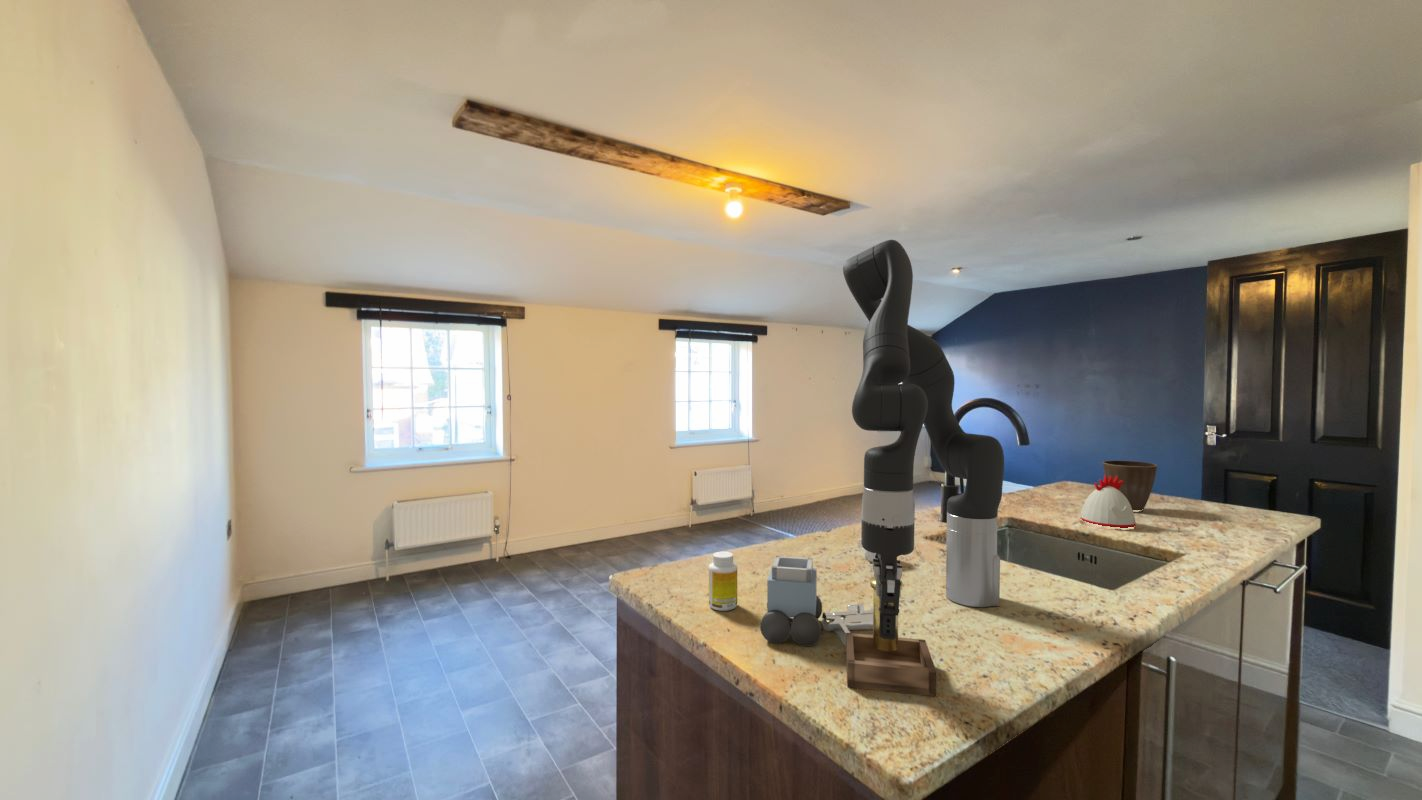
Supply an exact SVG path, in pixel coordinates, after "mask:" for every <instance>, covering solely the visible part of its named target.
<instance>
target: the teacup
mask: <svg viewBox="0 0 1422 800" xmlns="http://www.w3.org/2000/svg"><path fill="white" fill-rule="evenodd" d="M857 545H858V547H859V548H860V549H861V551H862V552H863V555H864V557H865V559H866V560H867V561H869V562H870V563H872V564H873V558H874V559H876V558H875V555H876V553H871V552H869V551H867V550H865V549H864V548H863V547H862V545H861V538H859V539H858V540H857Z"/></svg>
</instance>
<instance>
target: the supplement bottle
mask: <svg viewBox="0 0 1422 800" xmlns="http://www.w3.org/2000/svg"><path fill="white" fill-rule="evenodd" d="M708 605H709V606H710V608H711V609H712V610H716V611H720V612H726V611H727V612H728V611H731V610H734V609H736V607H737V606H738V565H737V563H735V561H734V553H732V552H730V551H717V552H714V553H713V555H712V562H711V563H710V564H709V565H708Z"/></svg>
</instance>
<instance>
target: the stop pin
mask: <svg viewBox="0 0 1422 800" xmlns="http://www.w3.org/2000/svg"><path fill="white" fill-rule="evenodd" d="M869 581H870V582H869V585H870V587H871V589H873V601H872V602H873V604H872V605H873V606H872V608H873V609H872V610H873V629H872V635H873V646H874V647H875V648H877V649H879V650H882V651H895V650H897V649H898V637H899V614H898V615H896V636H895V639H893V640H891V639H882V638H881V637H880V634H879V624H880V613H879V611H878V607H879V597H878V596H877V595H876V578H874V576H871V578H870V579H869ZM900 582H901V591H902V590H903V581H902V580H901V579H900ZM880 590H881V585H880ZM884 605H892V606H893V603H889V602H886V603H885V604H884Z"/></svg>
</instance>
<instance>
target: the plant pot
mask: <svg viewBox="0 0 1422 800" xmlns="http://www.w3.org/2000/svg"><path fill="white" fill-rule="evenodd" d="M1102 467H1103V473H1104V476H1107V478H1108V481H1109V476H1112V478H1113V482H1114V479H1115V477H1116V476H1117V477H1118V483H1119V482H1120V481H1121V480H1122V481H1123V483H1122V485H1121V487H1120V489H1119V491H1120V492H1121V493H1122V494H1123V495H1124V496H1125V497H1126V498H1127V500H1128V501H1129V503H1130V505H1131V508H1132V510H1142V509H1145V507H1146V505H1147V503H1148V501H1149V498H1150V495H1151V493H1152V490H1153V487H1154V483H1155V479H1156V475H1157V470H1158V465H1157V464H1156V463H1151V462H1145V461H1134V460H1105V461H1102Z"/></svg>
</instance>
